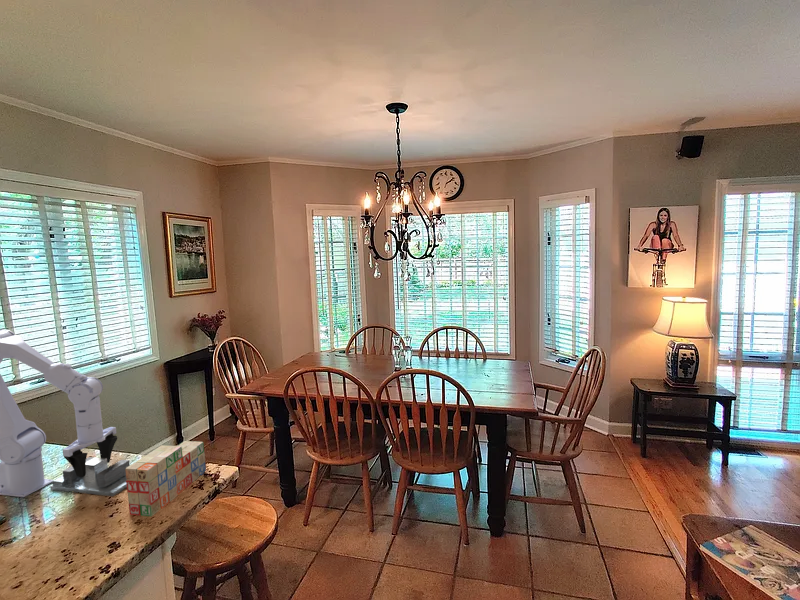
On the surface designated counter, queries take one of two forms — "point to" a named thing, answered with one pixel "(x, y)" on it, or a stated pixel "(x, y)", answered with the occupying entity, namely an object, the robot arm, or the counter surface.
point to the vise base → (86, 484)
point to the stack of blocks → (163, 476)
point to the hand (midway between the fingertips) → (93, 468)
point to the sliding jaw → (112, 473)
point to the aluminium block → (94, 468)
